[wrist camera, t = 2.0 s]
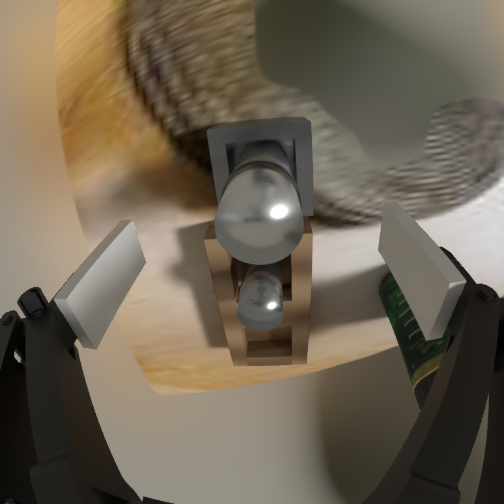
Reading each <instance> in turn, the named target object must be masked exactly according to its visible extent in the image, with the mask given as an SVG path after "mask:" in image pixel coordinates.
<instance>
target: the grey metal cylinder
mask: <svg viewBox="0 0 504 504" xmlns="http://www.w3.org/2000/svg"><path fill="white" fill-rule="evenodd" d="M214 229H215V234H216V237H217V239H218V241H219V243H220V245H221V246H222V247H223V249H224V250H225V251H226V252H227V253H228V254H230V255H231V256H232V257H234V258H236V259H238V260H240V261H242V262H245V263H249V264H256V265H264V264H270V263H274V262H277V261H280V260H282V259H284V258H285V257H287V256H288V255H289V254H291V253H292V252H293V251H294V250H295V249H296V247H297V246H298V244H299V243H300V241H301V238H302V235H303V231H304V220H303V216H302V212H301V197H300V193H299V190H298V186H297V184H296V181H295V180H294V178H293V176H292V173H291V170H290V166H289V162H288V159H287V155H286V153H285V151H284V150H283V148H282V147H281V146H280V145H278V144H277V143H275V142H273V141H270V140H258V141H254V142H252V143H250V144H248V145H247V146H246V147H245V148H244V150H243V151H242V153H241V155H240V157H239V160H238V162H237V164H236V166H235V169H234V171H233V172H232V174H231V175H230V176H229V178H228V179H227V181H226V183H225V185H224V188H223V190H222V193H221V198H220V204H219V206H218V208H217V211H216V214H215V219H214Z"/></svg>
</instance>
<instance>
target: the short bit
mask: <svg viewBox="0 0 504 504" xmlns="http://www.w3.org/2000/svg"><path fill="white" fill-rule="evenodd" d="M237 318H238V320H239V322H240V323H241V324H242V325H243V326H245V327H247V328H249V329H251V330H256V331H266V330H270V329H273V328H275V327H276V326H278V325H279V324H280V323H281V321H282V319H283V295H282V274H281V260H280V261H277V262H274V263H270V264H264V265H256V264H249V263H245V262H244V266H243V273H242V280H241V288H240V295H239V302H238V309H237Z"/></svg>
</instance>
